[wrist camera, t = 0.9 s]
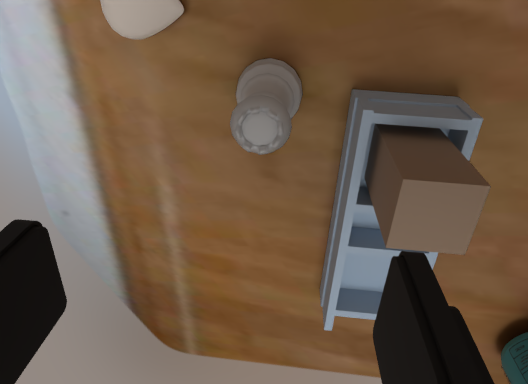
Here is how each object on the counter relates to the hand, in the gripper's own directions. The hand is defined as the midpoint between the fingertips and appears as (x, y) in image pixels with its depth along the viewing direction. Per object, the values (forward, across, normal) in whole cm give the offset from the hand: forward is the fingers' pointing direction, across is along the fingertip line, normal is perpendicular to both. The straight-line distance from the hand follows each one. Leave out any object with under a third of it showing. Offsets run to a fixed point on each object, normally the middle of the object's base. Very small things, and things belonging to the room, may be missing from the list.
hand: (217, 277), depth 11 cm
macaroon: (+19, +8, -5) cm, 21 cm away
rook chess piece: (+19, 0, 0) cm, 19 cm away
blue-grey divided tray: (+19, -9, +8) cm, 22 cm away
